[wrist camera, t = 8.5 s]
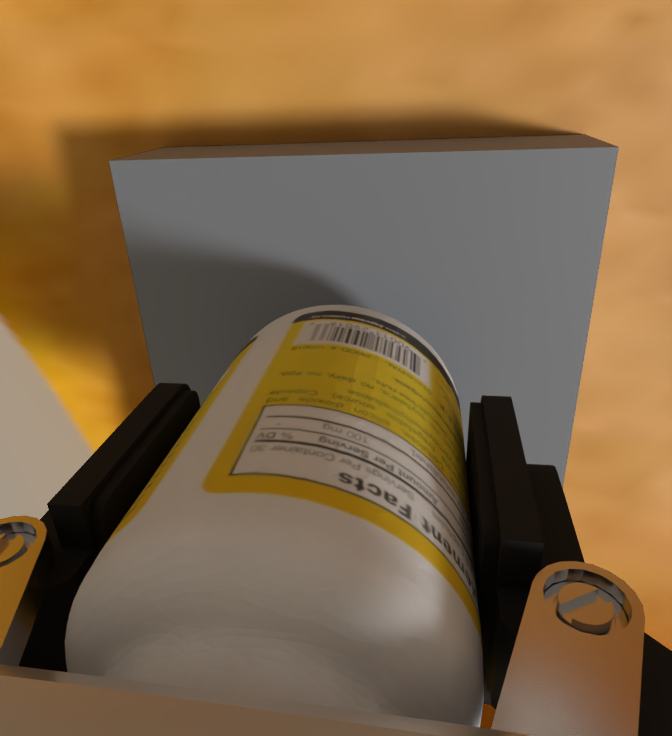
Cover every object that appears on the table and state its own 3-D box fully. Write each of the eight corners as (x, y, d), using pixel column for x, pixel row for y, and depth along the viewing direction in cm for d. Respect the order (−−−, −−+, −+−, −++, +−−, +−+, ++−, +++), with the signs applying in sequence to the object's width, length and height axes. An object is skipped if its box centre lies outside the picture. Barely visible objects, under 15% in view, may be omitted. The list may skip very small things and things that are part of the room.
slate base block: (163, 147, 16) (108, 160, 13) (584, 134, 14) (618, 146, 11) (217, 472, 21) (184, 529, 18) (535, 493, 19) (550, 560, 16)
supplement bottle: (296, 521, 15) (109, 1101, 7) (192, 347, 13) (-262, 839, 5) (496, 467, 13) (598, 1158, 5) (408, 258, 12) (318, 778, 3)
